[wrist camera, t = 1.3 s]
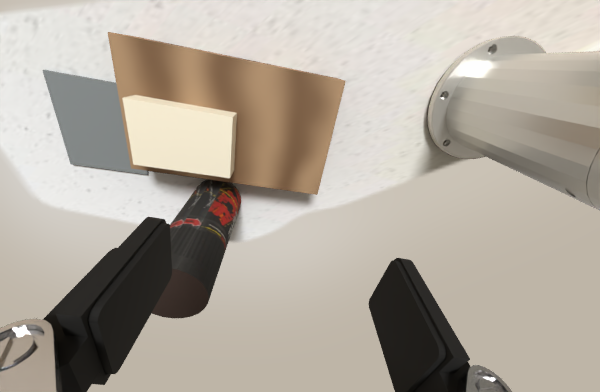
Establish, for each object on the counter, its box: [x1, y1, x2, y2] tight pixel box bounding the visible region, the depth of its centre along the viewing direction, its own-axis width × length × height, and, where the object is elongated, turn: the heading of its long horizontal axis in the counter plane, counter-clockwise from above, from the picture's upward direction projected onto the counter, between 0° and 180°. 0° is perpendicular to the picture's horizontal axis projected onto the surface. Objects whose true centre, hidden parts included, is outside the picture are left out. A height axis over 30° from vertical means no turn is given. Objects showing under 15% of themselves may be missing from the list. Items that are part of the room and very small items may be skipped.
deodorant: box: [152, 179, 241, 318], centre depth 25 cm, size 6×6×15 cm
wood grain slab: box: [108, 32, 345, 195], centre depth 25 cm, size 20×12×4 cm, turn 80°
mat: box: [43, 70, 148, 175], centre depth 26 cm, size 8×10×1 cm
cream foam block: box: [122, 95, 237, 178], centre depth 23 cm, size 9×6×2 cm, turn 79°
